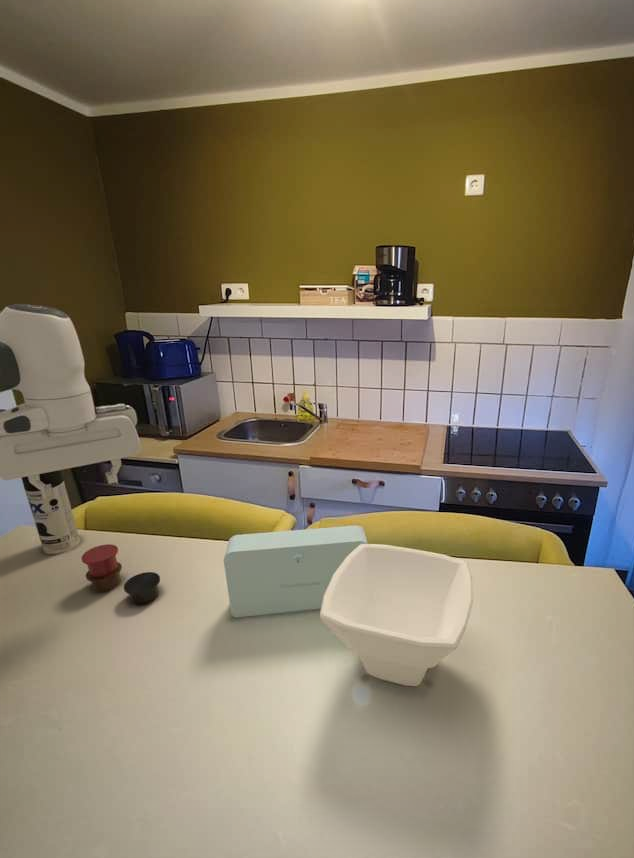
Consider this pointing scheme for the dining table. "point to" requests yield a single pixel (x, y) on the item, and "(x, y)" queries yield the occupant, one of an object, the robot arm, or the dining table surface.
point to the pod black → (143, 588)
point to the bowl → (399, 609)
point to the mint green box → (285, 568)
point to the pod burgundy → (101, 560)
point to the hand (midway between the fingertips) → (81, 489)
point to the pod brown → (105, 580)
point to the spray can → (52, 514)
